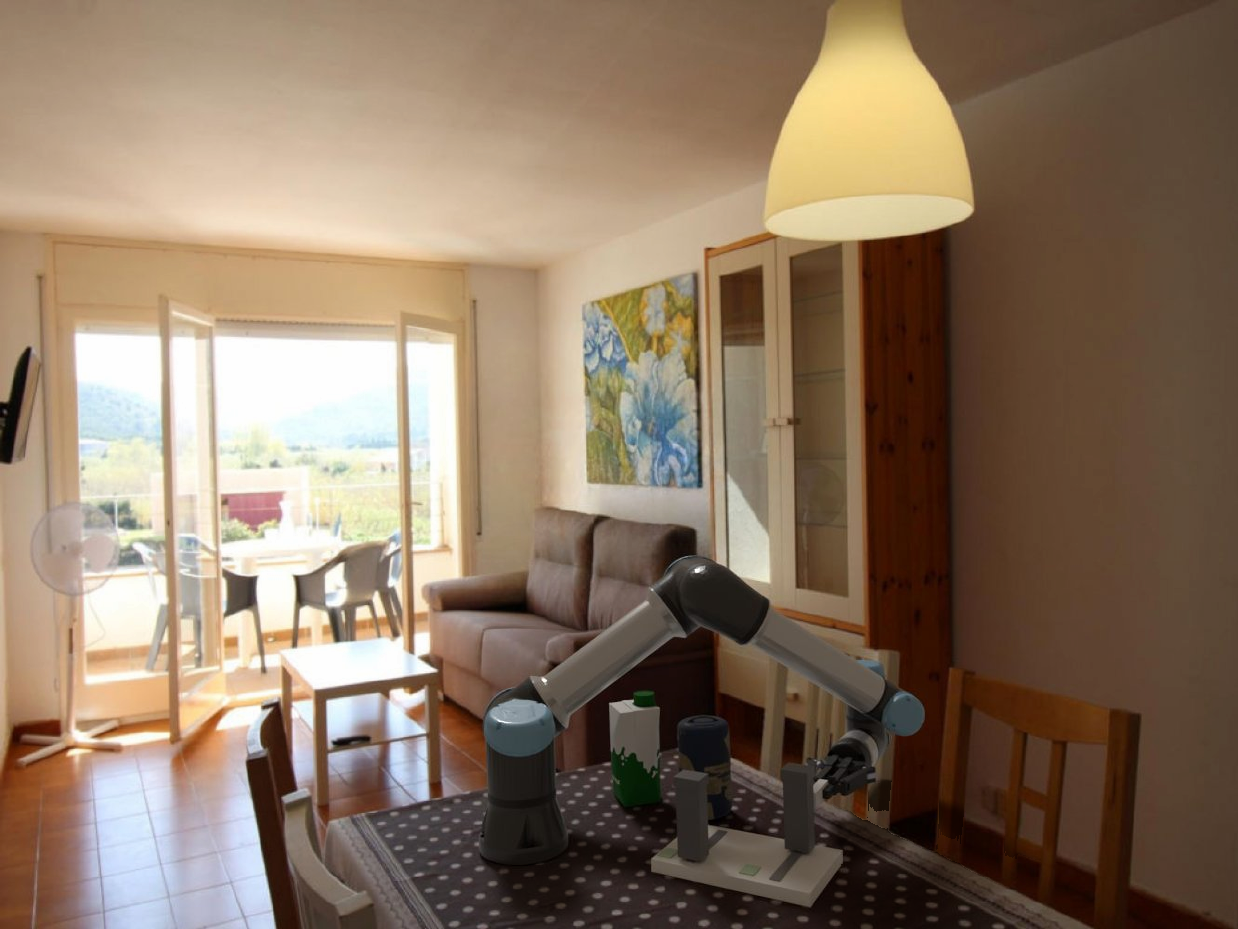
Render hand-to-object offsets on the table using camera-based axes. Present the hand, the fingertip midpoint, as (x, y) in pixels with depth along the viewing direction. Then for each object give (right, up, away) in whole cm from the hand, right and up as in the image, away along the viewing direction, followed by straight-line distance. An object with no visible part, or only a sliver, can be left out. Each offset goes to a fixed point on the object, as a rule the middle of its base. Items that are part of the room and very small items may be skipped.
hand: (811, 800), depth 156 cm
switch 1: (-20, -6, -7) cm, 22 cm away
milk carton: (-28, -9, +25) cm, 39 cm away
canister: (-16, -8, +16) cm, 24 cm away
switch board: (-11, -8, -6) cm, 15 cm away
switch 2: (-3, -6, -5) cm, 8 cm away
